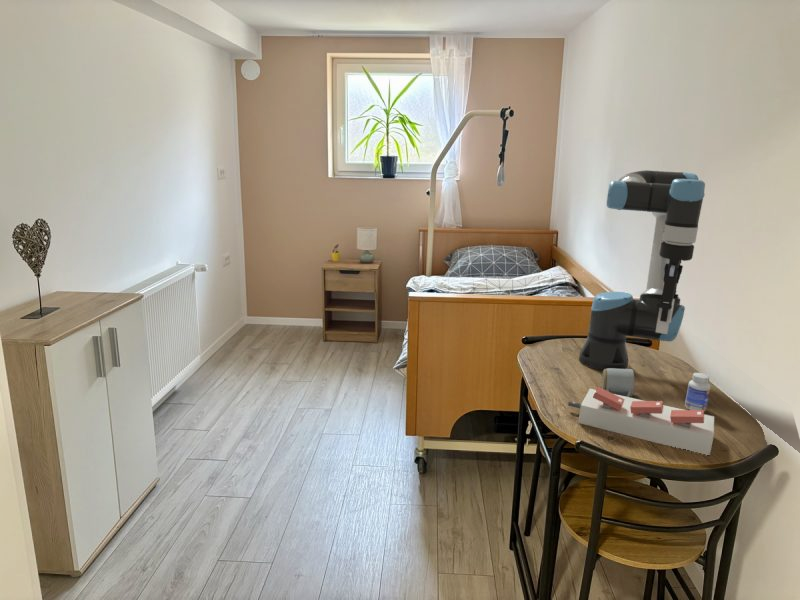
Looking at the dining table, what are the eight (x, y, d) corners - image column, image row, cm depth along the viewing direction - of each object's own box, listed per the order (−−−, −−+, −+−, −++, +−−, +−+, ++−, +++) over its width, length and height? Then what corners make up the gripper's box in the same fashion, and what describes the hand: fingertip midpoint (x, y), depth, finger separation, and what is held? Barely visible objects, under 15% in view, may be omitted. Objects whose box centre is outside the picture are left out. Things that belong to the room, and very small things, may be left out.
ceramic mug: (599, 386, 173) (603, 362, 171) (628, 390, 171) (632, 365, 169) (603, 402, 163) (607, 376, 161) (634, 406, 161) (638, 380, 159)
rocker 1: (595, 391, 151) (598, 386, 150) (622, 404, 148) (624, 399, 148) (592, 397, 148) (595, 391, 147) (619, 410, 145) (622, 405, 144)
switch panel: (572, 401, 162) (575, 381, 160) (710, 434, 147) (714, 412, 145) (562, 418, 152) (565, 397, 150) (709, 456, 136) (714, 432, 135)
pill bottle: (707, 414, 158) (714, 380, 155) (685, 410, 160) (691, 377, 157) (704, 406, 163) (711, 373, 160) (683, 402, 165) (689, 370, 162)
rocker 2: (633, 407, 147) (632, 400, 147) (663, 407, 144) (662, 400, 144) (631, 413, 144) (630, 406, 144) (662, 413, 140) (661, 406, 140)
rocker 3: (672, 416, 143) (671, 409, 143) (704, 416, 140) (703, 409, 140) (671, 422, 140) (670, 416, 140) (703, 423, 136) (703, 416, 136)
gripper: (665, 234, 157) (652, 313, 163) (657, 247, 138) (642, 336, 144) (696, 238, 154) (681, 318, 160) (692, 251, 135) (676, 342, 141)
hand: (663, 327), depth 152 cm, fingers open, 10 cm apart
